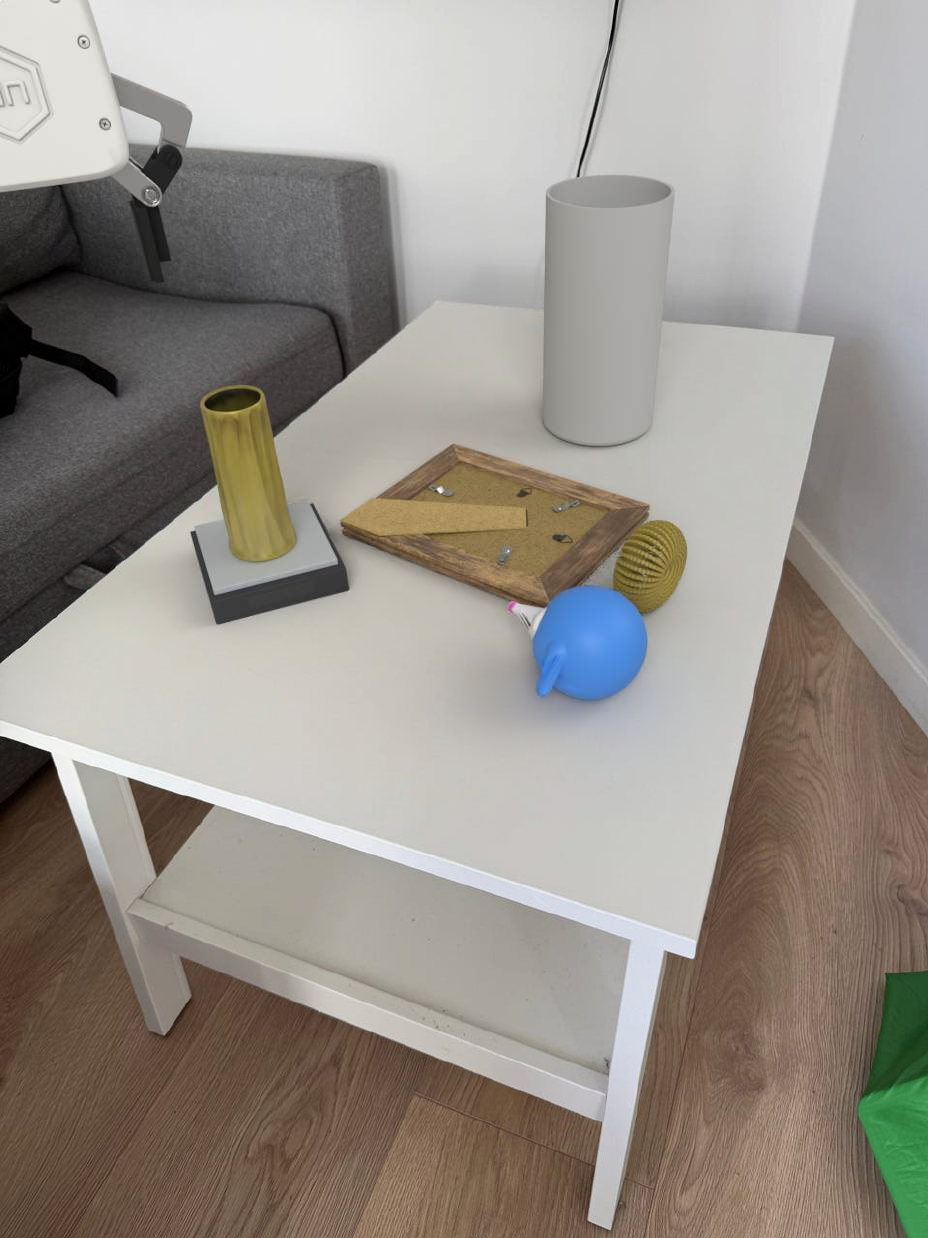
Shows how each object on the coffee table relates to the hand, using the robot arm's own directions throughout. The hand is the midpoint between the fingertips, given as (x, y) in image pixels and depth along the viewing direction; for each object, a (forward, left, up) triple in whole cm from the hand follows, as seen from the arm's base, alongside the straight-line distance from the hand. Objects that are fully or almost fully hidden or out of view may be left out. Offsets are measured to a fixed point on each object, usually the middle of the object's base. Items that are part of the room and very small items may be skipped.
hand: (68, 289), depth 52 cm
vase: (+9, +15, -29) cm, 34 cm away
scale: (+9, +15, -32) cm, 37 cm away
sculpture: (+38, -4, -32) cm, 50 cm away
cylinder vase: (+50, +28, -32) cm, 66 cm away
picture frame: (+31, +13, -32) cm, 47 cm away
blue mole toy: (+28, -9, -32) cm, 44 cm away
